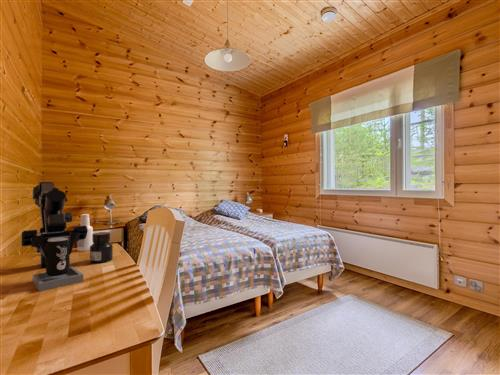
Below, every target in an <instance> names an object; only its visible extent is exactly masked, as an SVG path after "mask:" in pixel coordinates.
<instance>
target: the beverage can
mask: <svg viewBox="0 0 500 375" xmlns="http://www.w3.org/2000/svg"><path fill="white" fill-rule="evenodd" d="M47 241H48V242H47V244H46V252H47V258H46V267H45V272H46V274H48V275H49V276H59V275H63V274H66V273H67V272H68V271H69V270H70V266H71V265H70V255H71V254H69V237H58V238H51V239H48V240H47Z"/></svg>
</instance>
